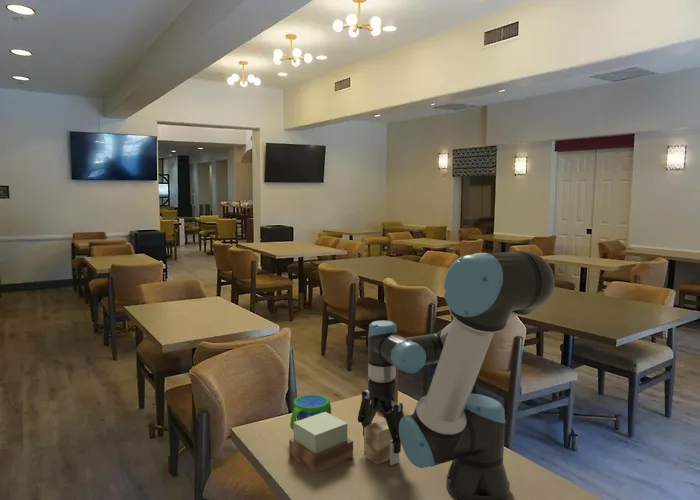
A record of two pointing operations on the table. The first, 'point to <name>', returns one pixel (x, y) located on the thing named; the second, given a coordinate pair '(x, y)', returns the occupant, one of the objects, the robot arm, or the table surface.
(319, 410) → the snack cup
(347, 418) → the table surface
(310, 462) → the walnut slab
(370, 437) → the oak block
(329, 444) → the sage slab
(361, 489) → the table surface
